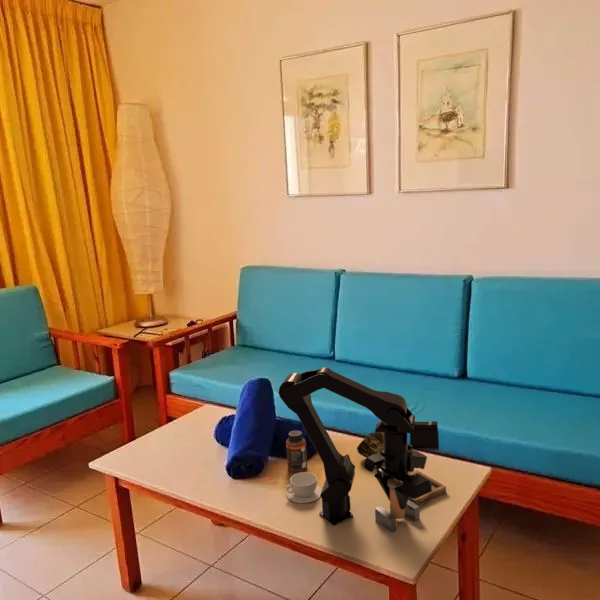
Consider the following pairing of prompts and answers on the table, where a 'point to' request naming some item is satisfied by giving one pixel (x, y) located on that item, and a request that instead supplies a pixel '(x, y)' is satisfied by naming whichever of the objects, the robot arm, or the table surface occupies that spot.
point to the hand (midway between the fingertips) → (397, 505)
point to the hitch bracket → (390, 521)
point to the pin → (395, 499)
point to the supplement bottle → (296, 452)
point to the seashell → (371, 444)
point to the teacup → (303, 488)
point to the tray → (436, 491)
